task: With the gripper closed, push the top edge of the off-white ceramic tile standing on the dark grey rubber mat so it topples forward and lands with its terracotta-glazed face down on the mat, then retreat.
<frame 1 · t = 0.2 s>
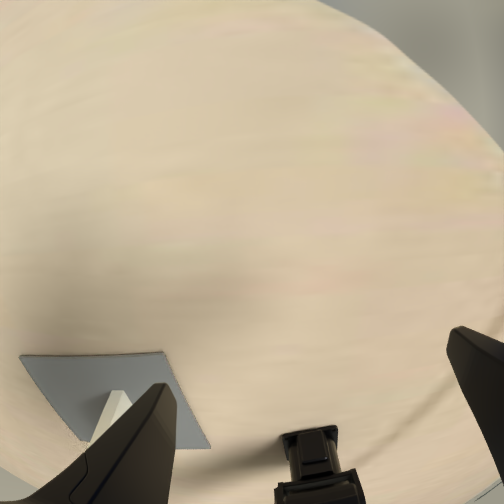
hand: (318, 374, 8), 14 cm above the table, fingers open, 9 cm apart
tile: (131, 411, 28), resting on mat
mat: (110, 407, 29), on the table
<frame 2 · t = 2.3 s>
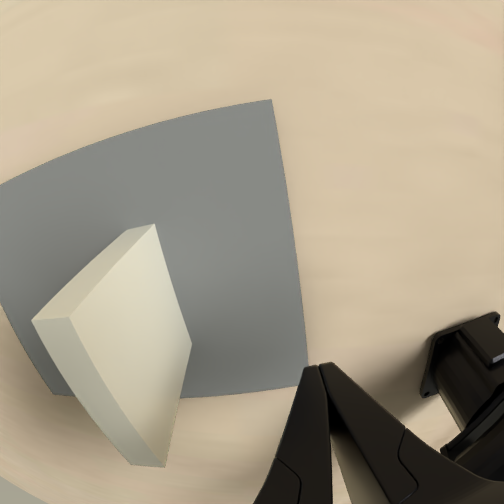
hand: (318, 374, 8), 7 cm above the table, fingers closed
tile: (160, 291, 15), resting on mat
mat: (114, 294, 16), on the table
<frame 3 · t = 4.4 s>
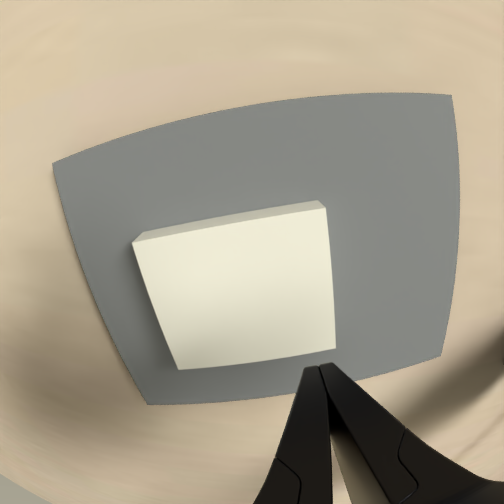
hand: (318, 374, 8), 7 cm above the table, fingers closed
tile: (329, 279, 14), point 1 cm above the table, tilted 90°, touching mat
mat: (280, 275, 15), on the table
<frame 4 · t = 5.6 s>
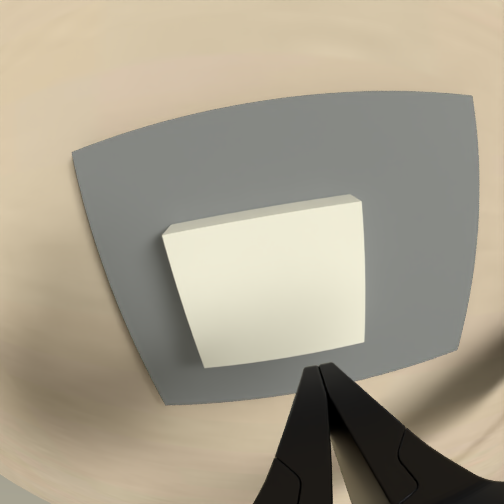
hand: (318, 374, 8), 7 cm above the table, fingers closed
tile: (359, 272, 13), point 1 cm above the table, tilted 90°, touching mat
mat: (310, 270, 15), on the table
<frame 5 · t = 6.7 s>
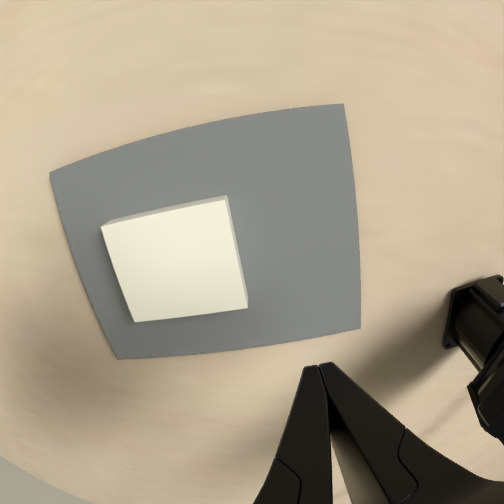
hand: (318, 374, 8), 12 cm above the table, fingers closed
tile: (237, 252, 19), point 1 cm above the table, tilted 90°, touching mat
mat: (206, 251, 20), on the table
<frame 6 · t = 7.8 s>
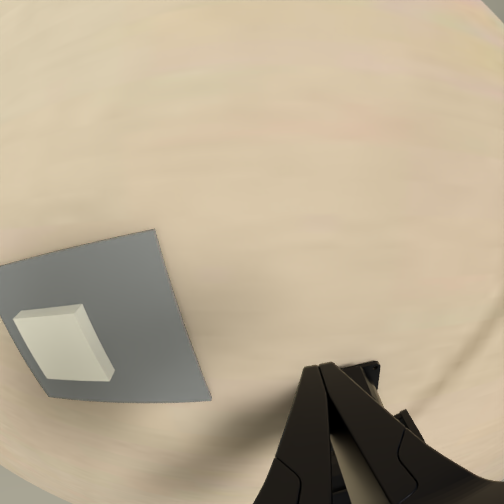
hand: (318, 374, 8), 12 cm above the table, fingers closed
tile: (95, 344, 22), point 1 cm above the table, tilted 90°, touching mat
mat: (82, 337, 23), on the table
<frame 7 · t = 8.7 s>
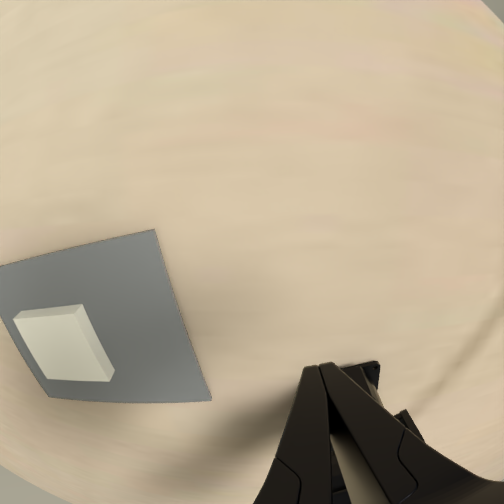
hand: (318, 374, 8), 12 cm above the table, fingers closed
tile: (95, 344, 22), point 1 cm above the table, tilted 90°, touching mat
mat: (82, 337, 23), on the table
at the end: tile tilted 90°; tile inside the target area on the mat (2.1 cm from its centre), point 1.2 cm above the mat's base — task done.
